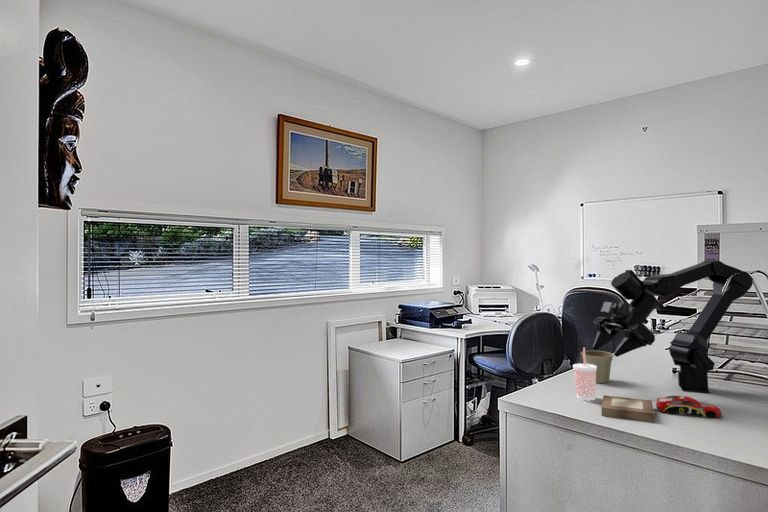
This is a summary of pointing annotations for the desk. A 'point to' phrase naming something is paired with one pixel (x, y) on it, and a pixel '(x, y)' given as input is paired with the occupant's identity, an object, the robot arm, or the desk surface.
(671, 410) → the race car
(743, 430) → the desk surface
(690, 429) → the desk surface
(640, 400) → the walnut slab
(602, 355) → the flower pot
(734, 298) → the robot arm
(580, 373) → the beverage cup
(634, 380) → the desk surface
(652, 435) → the desk surface
